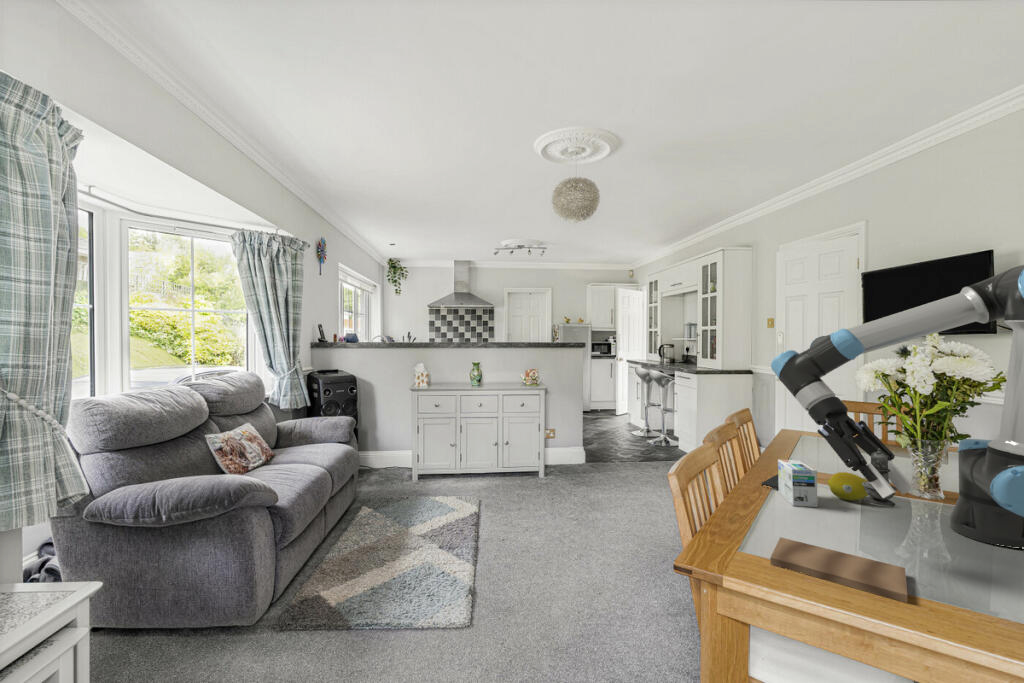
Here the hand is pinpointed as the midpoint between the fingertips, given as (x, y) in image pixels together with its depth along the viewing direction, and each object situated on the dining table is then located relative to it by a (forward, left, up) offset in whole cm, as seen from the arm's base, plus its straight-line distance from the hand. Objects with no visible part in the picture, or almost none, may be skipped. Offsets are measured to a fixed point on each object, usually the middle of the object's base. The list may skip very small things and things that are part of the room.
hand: (898, 492), depth 92 cm
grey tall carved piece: (+3, -2, -4) cm, 5 cm away
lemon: (+10, -39, -16) cm, 44 cm away
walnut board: (+10, +10, -16) cm, 21 cm away
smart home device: (+27, -46, -17) cm, 56 cm away
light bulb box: (+22, -30, -16) cm, 41 cm away
